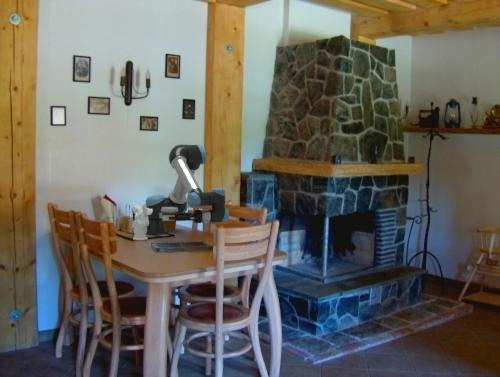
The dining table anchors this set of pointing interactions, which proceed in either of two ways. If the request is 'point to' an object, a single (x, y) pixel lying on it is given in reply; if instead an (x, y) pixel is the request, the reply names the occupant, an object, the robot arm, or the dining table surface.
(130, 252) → the dining table surface
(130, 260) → the dining table surface
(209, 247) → the two-bay frame
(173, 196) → the robot arm
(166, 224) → the disposable coffee cup
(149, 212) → the cherub figurine
